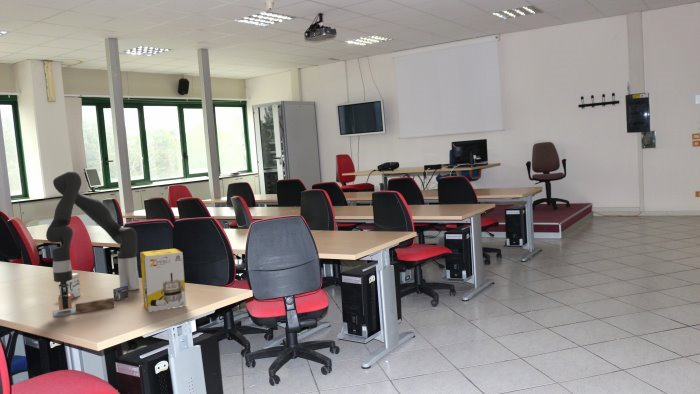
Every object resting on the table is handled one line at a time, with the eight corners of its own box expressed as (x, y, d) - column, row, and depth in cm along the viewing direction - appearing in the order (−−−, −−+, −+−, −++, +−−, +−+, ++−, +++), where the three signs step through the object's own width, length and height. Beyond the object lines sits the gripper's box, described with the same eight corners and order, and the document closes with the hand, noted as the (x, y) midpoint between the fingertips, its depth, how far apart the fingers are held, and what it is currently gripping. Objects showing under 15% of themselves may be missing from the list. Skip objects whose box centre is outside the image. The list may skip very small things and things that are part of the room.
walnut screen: (113, 306, 262) (113, 297, 261) (114, 306, 260) (113, 298, 260) (75, 312, 254) (75, 303, 254) (76, 312, 252) (75, 304, 252)
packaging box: (148, 312, 247) (144, 256, 245) (143, 305, 261) (140, 252, 260) (186, 306, 254) (182, 252, 253) (179, 299, 268) (175, 248, 267)
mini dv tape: (116, 301, 271) (115, 289, 271) (114, 301, 272) (113, 289, 271) (128, 297, 279) (127, 285, 279) (126, 297, 280) (125, 285, 279)
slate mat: (77, 308, 261) (77, 306, 261) (79, 313, 251) (78, 312, 251) (53, 311, 256) (53, 310, 256) (53, 317, 246) (53, 316, 246)
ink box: (69, 299, 280) (67, 276, 280) (61, 299, 281) (59, 276, 281) (81, 295, 289) (79, 272, 288) (72, 295, 290) (71, 273, 289)
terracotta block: (71, 306, 257) (70, 293, 256) (71, 308, 252) (70, 295, 252) (59, 308, 254) (58, 295, 254) (59, 310, 250) (58, 297, 250)
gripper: (72, 271, 248) (75, 309, 249) (70, 267, 261) (73, 302, 262) (53, 273, 244) (56, 311, 245) (52, 269, 257) (55, 305, 258)
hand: (65, 307), depth 253 cm, fingers closed on terracotta block, 5 cm apart
